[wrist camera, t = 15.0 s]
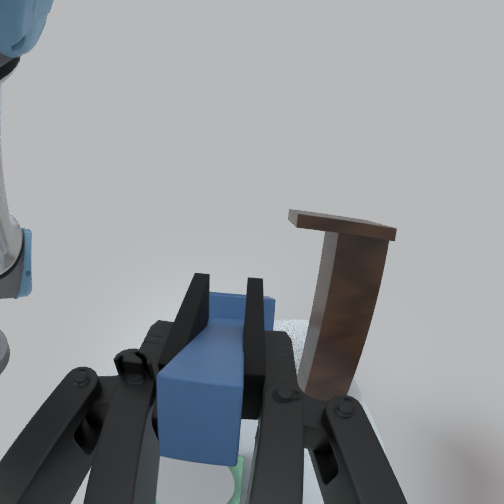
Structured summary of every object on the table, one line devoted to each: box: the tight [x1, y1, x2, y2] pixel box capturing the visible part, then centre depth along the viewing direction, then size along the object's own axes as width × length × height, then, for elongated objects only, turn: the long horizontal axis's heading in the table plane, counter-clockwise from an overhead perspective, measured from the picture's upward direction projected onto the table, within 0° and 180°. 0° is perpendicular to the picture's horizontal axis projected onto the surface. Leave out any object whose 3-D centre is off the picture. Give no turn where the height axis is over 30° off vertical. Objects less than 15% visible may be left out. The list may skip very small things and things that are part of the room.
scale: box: [156, 455, 244, 504], centre depth 21 cm, size 11×11×3 cm
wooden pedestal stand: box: [288, 209, 397, 401], centre depth 37 cm, size 12×10×30 cm
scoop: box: [157, 292, 275, 467], centre depth 15 cm, size 6×19×4 cm, turn 179°
